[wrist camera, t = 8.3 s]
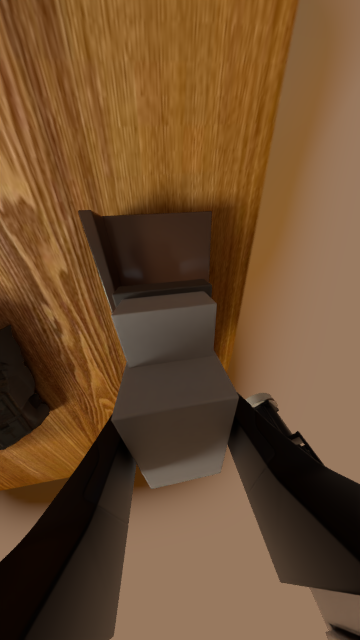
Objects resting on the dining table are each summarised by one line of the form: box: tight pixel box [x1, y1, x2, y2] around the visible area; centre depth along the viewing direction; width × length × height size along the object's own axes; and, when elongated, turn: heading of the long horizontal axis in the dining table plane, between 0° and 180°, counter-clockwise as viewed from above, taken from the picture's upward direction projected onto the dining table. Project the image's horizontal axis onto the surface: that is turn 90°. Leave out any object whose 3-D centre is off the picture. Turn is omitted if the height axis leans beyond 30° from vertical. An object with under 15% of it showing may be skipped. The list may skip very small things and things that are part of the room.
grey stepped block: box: [111, 279, 239, 489], centre depth 8 cm, size 12×5×5 cm, turn 3°
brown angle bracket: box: [78, 210, 212, 314], centre depth 15 cm, size 20×9×4 cm, turn 3°
